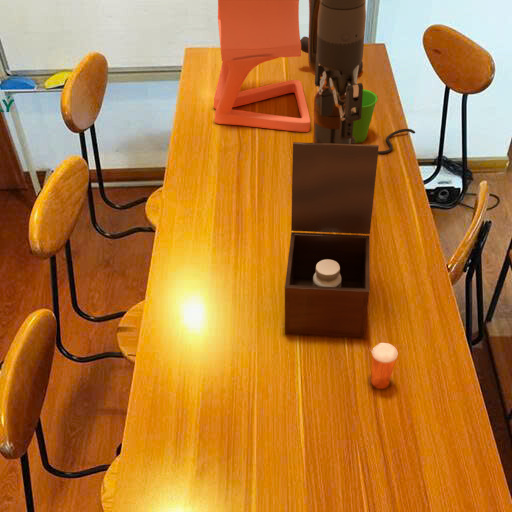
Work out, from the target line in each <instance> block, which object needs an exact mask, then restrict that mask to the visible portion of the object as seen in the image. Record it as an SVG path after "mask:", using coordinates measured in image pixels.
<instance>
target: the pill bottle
mask: <svg viewBox="0 0 512 512" xmlns="http://www.w3.org/2000/svg"><path fill="white" fill-rule="evenodd" d="M341 281H342V278H341V275H340V266H339V264H338V263H337V262H336V261H334V260H330V259H326V260H322V261H320V262H318V263H317V265H316V272H315V274H314V276H313V286H320V287H341Z"/></svg>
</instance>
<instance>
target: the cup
mask: <svg viewBox="0 0 512 512" xmlns="http://www.w3.org/2000/svg"><path fill="white" fill-rule="evenodd" d="M378 98H379V97H378V95H377V94H376V93H375V92H374V91H372V90H369V89H366V88H363V97H362V115H361V119H360V120H356V121H354V123H353V135H352V136H354V137H355V144H359V143H363V142H364V141H366V139H367V137H368V134H369V129H370V126H371V122H372V117H373V114H374V111H375V107H376V104H377V102H378V101H379V99H378ZM355 109H356V107H355Z"/></svg>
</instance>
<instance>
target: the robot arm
mask: <svg viewBox="0 0 512 512" xmlns="http://www.w3.org/2000/svg"><path fill="white" fill-rule="evenodd" d="M366 3H367V1H366V0H308V38H309V40H308V53H307V58H308V60H307V61H308V68H309V71H310V74H312V75H313V76H314V85H315V87H318V90H317V92H316V93H315V95H314V98H313V100H314V102H313V132H312V133H313V135H312V143H332V144H356V143H355V137H354V136H352V135H353V123H354V121H356V120H360V119H361V115H362V97H363V89H364V86H363V83H362V82H359V83H358V77H359V74H358V70H359V64H360V63H361V62H363V57H364V47H365V46H364V45H365V36H366V35H365V34H366V33H365V32H366V24H367V23H366V21H367V7H366ZM355 107H356V109H355ZM405 132H408V133H411V134H412V135H413V134H416V131H415V130H414V129H412V128H401V129H397V130H395V131H394V132H391V133H390V134H389V135H387V136H386V138H385V141H386V143H387V145H388V147H389V148H388V149H386V150H378V155H385V154H389V153H391V152H392V151H393V149H394V147H393V144H392V143H391V141H390V139H391V138H392V137H394V136H395V135H397V134H399V133H400V134H401V133H405Z"/></svg>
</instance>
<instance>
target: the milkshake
mask: <svg viewBox="0 0 512 512" xmlns="http://www.w3.org/2000/svg"><path fill="white" fill-rule="evenodd" d="M368 350H369V351H370V353H371V380H370V381H371V384H372V386H373V387H374V388H376V389H378V390H382V389H386V388H387V387H389V385H390V381H391V378H392V374H393V371H394V367H395V366H396V362H397V360H398V356H399V352H398V349H397V348H396V347H395V346H394V345H393V344H391V343H388V342H379V343H377V344H376V345H375V346H374V347H372V349H371V347H370V346H368Z"/></svg>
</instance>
